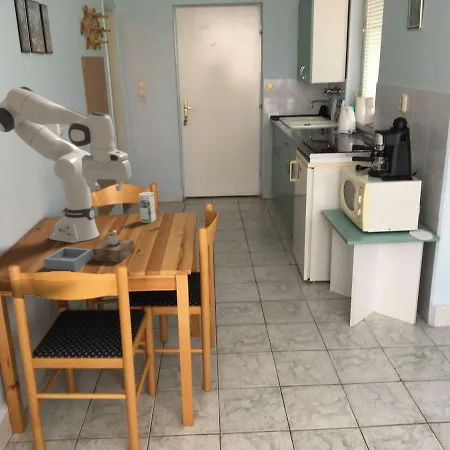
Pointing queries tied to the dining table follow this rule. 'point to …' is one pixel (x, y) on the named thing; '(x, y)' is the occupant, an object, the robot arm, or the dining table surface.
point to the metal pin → (112, 238)
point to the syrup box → (147, 207)
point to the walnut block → (113, 251)
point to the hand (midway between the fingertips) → (108, 190)
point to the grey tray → (68, 259)
